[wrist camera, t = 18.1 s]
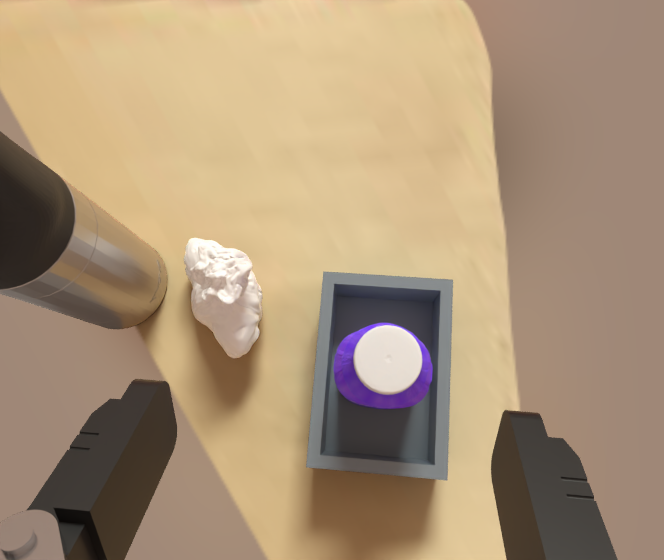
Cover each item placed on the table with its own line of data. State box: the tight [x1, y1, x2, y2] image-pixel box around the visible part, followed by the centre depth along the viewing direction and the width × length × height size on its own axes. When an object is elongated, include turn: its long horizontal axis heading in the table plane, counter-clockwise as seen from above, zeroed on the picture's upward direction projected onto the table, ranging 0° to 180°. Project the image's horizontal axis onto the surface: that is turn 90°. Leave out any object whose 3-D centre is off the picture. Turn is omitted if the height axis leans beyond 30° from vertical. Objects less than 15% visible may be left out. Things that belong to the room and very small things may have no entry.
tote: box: [306, 272, 453, 480], centre depth 46 cm, size 11×16×6 cm
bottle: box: [333, 323, 433, 409], centre depth 40 cm, size 7×6×17 cm
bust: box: [184, 238, 262, 358], centre depth 47 cm, size 12×8×11 cm
